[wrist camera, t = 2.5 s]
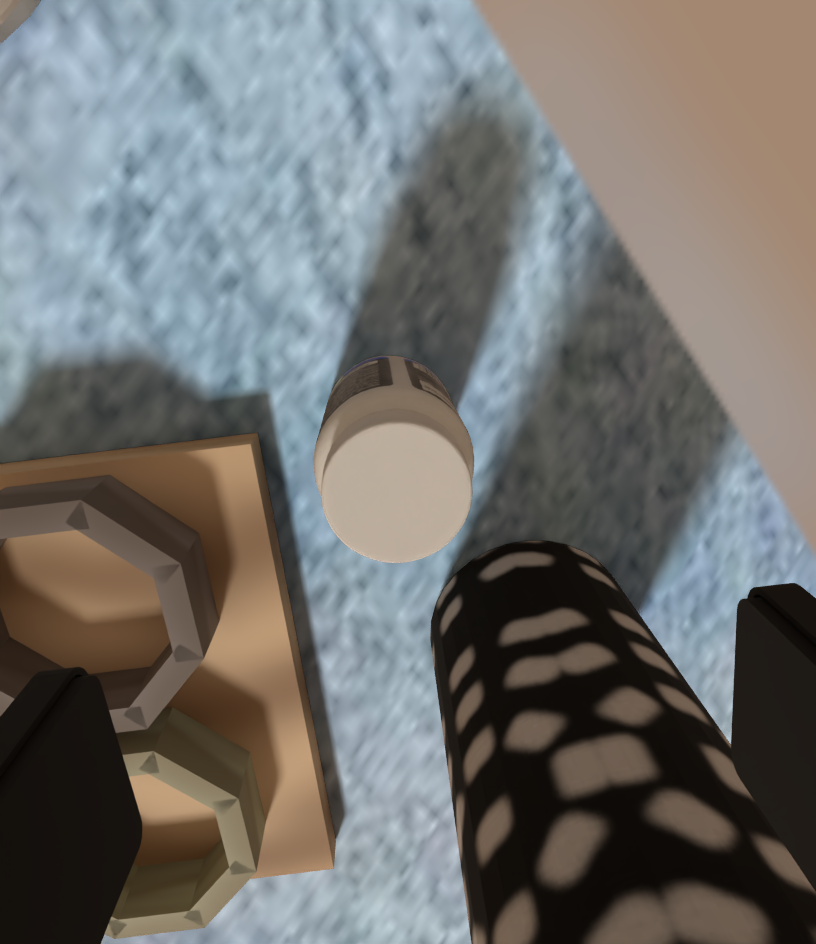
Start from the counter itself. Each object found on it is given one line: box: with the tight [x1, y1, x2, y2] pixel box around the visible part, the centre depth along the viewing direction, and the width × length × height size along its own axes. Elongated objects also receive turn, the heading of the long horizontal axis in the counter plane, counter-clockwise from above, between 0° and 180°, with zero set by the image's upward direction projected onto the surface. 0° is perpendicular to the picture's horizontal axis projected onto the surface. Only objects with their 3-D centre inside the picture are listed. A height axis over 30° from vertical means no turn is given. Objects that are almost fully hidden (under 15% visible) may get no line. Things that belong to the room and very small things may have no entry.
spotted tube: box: [430, 541, 816, 944], centre depth 19 cm, size 8×8×20 cm
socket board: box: [0, 433, 336, 939], centre depth 27 cm, size 20×14×4 cm
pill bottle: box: [314, 356, 474, 563], centre depth 22 cm, size 5×5×8 cm
